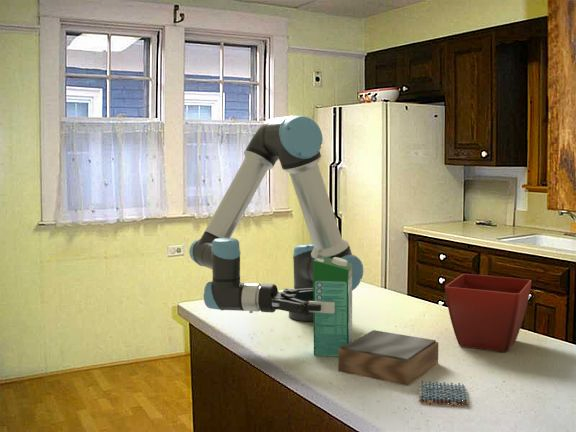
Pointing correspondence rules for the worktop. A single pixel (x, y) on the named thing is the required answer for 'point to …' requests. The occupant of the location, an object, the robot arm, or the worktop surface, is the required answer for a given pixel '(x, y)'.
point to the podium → (388, 357)
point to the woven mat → (443, 394)
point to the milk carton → (335, 288)
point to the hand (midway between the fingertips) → (339, 301)
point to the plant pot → (487, 310)
